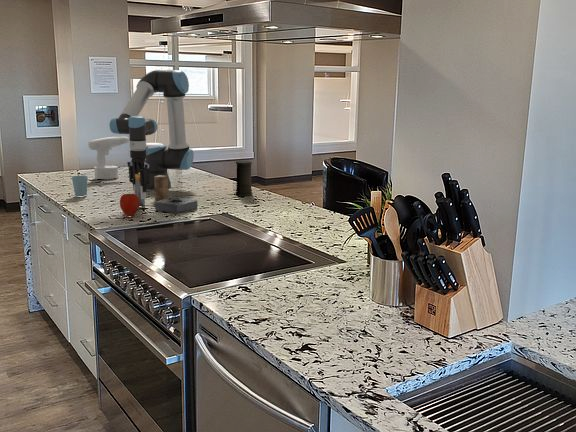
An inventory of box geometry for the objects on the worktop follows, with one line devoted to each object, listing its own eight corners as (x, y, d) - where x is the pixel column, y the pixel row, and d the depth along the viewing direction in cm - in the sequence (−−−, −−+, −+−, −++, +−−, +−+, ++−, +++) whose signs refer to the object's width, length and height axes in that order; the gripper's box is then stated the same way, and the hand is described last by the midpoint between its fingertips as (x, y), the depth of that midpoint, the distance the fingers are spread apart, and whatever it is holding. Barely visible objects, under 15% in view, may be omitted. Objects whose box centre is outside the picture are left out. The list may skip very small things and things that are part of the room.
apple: (134, 213, 261) (133, 190, 259) (143, 217, 256) (142, 193, 253) (116, 216, 256) (115, 192, 253) (126, 220, 250) (125, 195, 247)
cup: (83, 198, 291) (82, 178, 288) (70, 197, 292) (68, 177, 290) (91, 195, 298) (90, 175, 295) (78, 194, 300) (77, 175, 297)
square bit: (155, 199, 291) (154, 176, 288) (160, 197, 296) (159, 175, 293) (163, 200, 289) (162, 177, 287) (168, 198, 294) (167, 175, 291)
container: (253, 193, 311) (253, 160, 307) (250, 196, 302) (250, 163, 298) (237, 192, 312) (237, 160, 308) (234, 196, 303) (234, 162, 299)
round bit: (134, 206, 275) (133, 173, 271) (140, 205, 278) (139, 172, 275) (140, 207, 273) (138, 174, 269) (146, 206, 276) (145, 173, 273)
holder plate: (155, 210, 269) (154, 201, 268) (176, 204, 280) (176, 196, 280) (176, 214, 262) (176, 205, 261) (197, 208, 273) (197, 200, 272)
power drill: (132, 177, 351) (130, 136, 345) (92, 180, 338) (89, 138, 332) (128, 175, 358) (126, 135, 352) (88, 178, 345) (86, 137, 339)
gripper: (119, 148, 271) (122, 197, 276) (144, 151, 262) (146, 201, 267) (131, 147, 277) (134, 194, 282) (156, 150, 268) (158, 199, 273)
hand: (140, 197), depth 275 cm, fingers closed on round bit, 4 cm apart
